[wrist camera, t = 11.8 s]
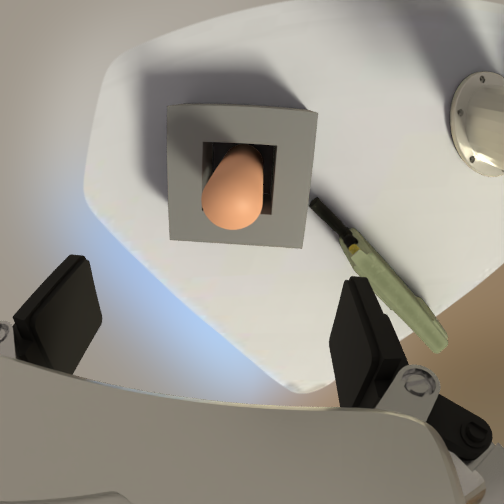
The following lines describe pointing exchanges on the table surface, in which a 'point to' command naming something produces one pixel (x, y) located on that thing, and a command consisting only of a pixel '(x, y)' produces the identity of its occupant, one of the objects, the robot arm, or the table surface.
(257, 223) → the socket block
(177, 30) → the table surface
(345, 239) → the handheld radio
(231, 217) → the peg
